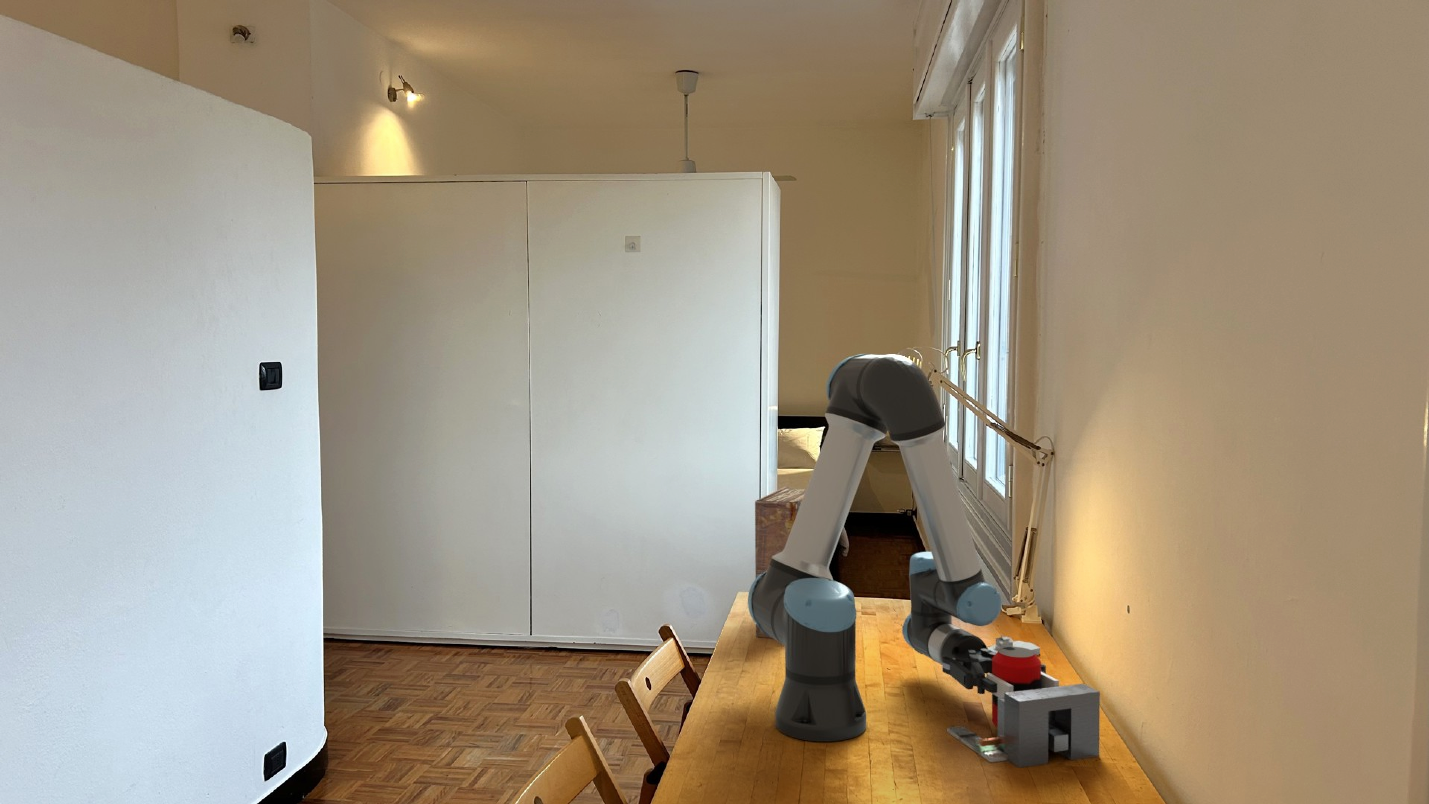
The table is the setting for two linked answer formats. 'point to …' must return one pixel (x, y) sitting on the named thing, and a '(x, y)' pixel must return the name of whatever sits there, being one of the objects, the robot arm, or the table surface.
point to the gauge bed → (1042, 725)
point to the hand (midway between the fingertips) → (1034, 691)
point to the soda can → (1015, 672)
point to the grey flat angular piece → (1012, 645)
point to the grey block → (1055, 735)
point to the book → (774, 527)
